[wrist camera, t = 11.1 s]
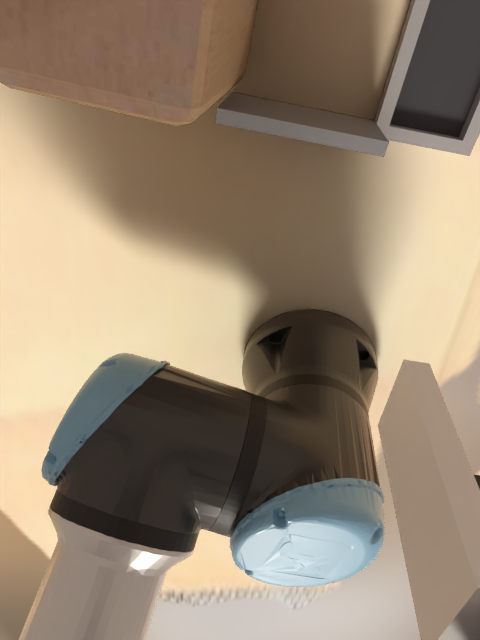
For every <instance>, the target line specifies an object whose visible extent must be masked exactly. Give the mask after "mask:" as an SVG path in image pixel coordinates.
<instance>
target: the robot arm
mask: <svg viewBox="0 0 480 640" xmlns="http://www.w3.org/2000/svg"><path fill="white" fill-rule="evenodd" d="M242 376H243V382H244V385H245V389H246V391H245V390H242V389H239V388H235V387H232V386H229V385H226V384H223V383H220V382H217V381H214V380H211V379H208V378H205V377H202V376H199V375H196V374H193V373H190V372H187V371H185V370H182V369H179V368H176V367H173V366H170V363H169V362H166V361H161V362H159V361H155V360H151V359H148V358H144V357H141V356H137V355H133V354H128V353H122V354H117V355H114V356H112V357H110V358H108V359H107V360H106V361H104V362H103V363H102V364H101V365H100V366H99V367H98V368H97V369H96V370H95V371H94V372H93V373H92V375H91V376H90V377H89V378H88V380H87V381H86V382H85V384H84V385H83V386H82V388H81V389H80V391H79V392H78V394H77V395H76V397H75V398H74V400H73V401H72V403H71V405H70V406H69V408H68V410H67V411H66V413H65V415H64V417H63V418H62V420H61V422H60V424H59V426H58V428H57V430H56V432H55V434H54V436H53V438H52V440H51V442H50V445H49V451H48V453H47V455H46V457H45V459H44V461H43V465H42V476H43V478H44V479H46V480H47V481H48V483H49V484H50V485H53V486H57V485H58V486H57V490H56V493H55V495H54V497H53V500H52V502H51V505H50V507H49V510H48V513H49V516H50V518H51V520H52V522H53V525H54V527H55V529H56V531H57V537H58V542H57V545H56V547H55V550H54V552H53V555H52V557H51V560H50V562H49V565H48V567H47V570H46V572H45V575H44V578H43V580H42V583H41V585H40V588H39V590H38V593H37V595H36V598H35V600H34V603H33V605H32V608H31V610H30V613H29V615H28V618H27V621H26V623H25V625H24V628H23V631H22V633H21V636H20V638H19V640H145V639H146V635H147V632H148V629H149V626H150V623H151V619H152V616H153V613H154V610H155V607H156V604H157V600H158V597H159V594H160V591H161V588H162V585H163V581H164V578H165V575H166V572H167V571H168V570H169V569H170V568H171V567H172V566H174V565H176V564H177V563H179V562H181V561H183V560H184V559H186V558H188V557H189V556H191V555H192V553H193V550H194V547H195V544H196V540H197V537H198V534H199V531H200V530H201V529H205V530H208V531H212V532H215V533H218V534H221V535H224V536H227V537H230V548H231V551H232V556H233V559H234V561H235V563H236V565H237V566H238V567H239V568H240V569H241V570H245V573H246V574H247V575H249V576H250V577H252V578H254V579H256V580H259V581H262V582H265V583H268V584H273V585H278V586H287V587H312V586H320V585H325V584H329V583H334V582H338V581H341V580H344V579H346V578H349V577H351V576H353V575H355V574H357V573H359V572H360V571H362V570H363V569H365V568H366V567H367V566H368V565H370V564H371V562H372V561H373V560H374V559H375V558H376V557H377V555H378V553H379V552H380V550H381V548H382V545H383V541H384V534H385V532H384V514H383V503H384V496H383V493H382V491H381V488H380V483H379V477H378V471H377V465H376V459H375V453H374V446H373V440H372V434H371V428H370V422H369V416H368V411H369V408H370V405H371V402H372V398H373V395H374V392H375V388H376V385H377V381H378V365H377V360H376V355H375V350H374V347H373V345H372V343H371V341H370V339H369V338H368V336H367V335H366V334H365V333H364V332H363V331H362V329H360V328H359V327H358V326H357V325H356V324H354V323H353V322H351V321H350V320H348V319H346V318H344V317H342V316H339V315H337V314H334V313H330V312H326V311H320V310H298V311H292V312H288V313H284V314H281V315H279V316H276V317H274V318H272V319H270V320H269V321H267V322H266V323H264V324H263V325H262V326H261V327H259V328H258V329H257V330H256V331H255V333H254V334H253V335H252V337H251V338H250V340H249V342H248V344H247V346H246V349H245V354H244V359H243V365H242ZM378 428H379V433H380V438H381V443H382V448H383V453H384V458H385V463H386V468H387V473H388V477H389V483H390V488H391V492H392V498H393V502H394V508H395V513H396V518H397V522H398V527H399V533H400V537H401V542H402V547H403V552H404V557H405V562H406V567H407V572H408V577H409V582H410V587H411V592H412V597H413V602H414V606H415V612H416V617H417V622H418V627H419V632H420V637H421V640H480V476H479V475H474V474H473V472H472V469H471V467H470V464H469V462H468V459H467V457H466V454H465V452H464V449H463V447H462V444H461V442H460V439H459V437H458V434H457V432H456V429H455V427H454V424H453V422H452V419H451V417H450V414H449V412H448V409H447V406H446V404H445V402H444V399H443V397H442V394H441V392H440V389H439V386H438V384H437V381H436V379H435V376H434V374H433V371H432V369H431V366H430V364H428V363H421V362H415V361H409V360H403V363H402V365H401V368H400V371H399V373H398V376H397V378H396V381H395V383H394V386H393V388H392V391H391V393H390V396H389V398H388V401H387V404H386V406H385V409H384V411H383V414H382V416H381V419H380V421H379V424H378Z"/></svg>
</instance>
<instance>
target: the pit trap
mask: <svg viewBox="0 0 480 640" xmlns="http://www.w3.org/2000/svg"><path fill="white" fill-rule="evenodd" d="M375 122H376V123H377V125H378V126H379V128H380V129H381V131H382V132H383V134H384V135H385V137H386V138H387V140H391V141H396V142H401V143H406V144H412V145H417V146H422V147H427V148H432V149H437V150H442V151H447V152H452V153H457V154H462V155H467V156H470V154H471V152H472V149H473V147H474V145H475V142H476V140H477V138H478V136H479V133H480V0H411V3H410V7H409V10H408V13H407V16H406V20H405V23H404V26H403V29H402V33H401V36H400V39H399V42H398V46H397V49H396V52H395V55H394V59H393V62H392V65H391V68H390V72H389V75H388V78H387V81H386V85H385V88H384V91H383V94H382V98H381V101H380V104H379V107H378V111H377V114H376V117H375Z"/></svg>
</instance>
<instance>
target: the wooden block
mask: <svg viewBox="0 0 480 640" xmlns="http://www.w3.org/2000/svg"><path fill="white" fill-rule="evenodd" d="M257 2H258V0H0V82H1V83H2V84H4V85H6V86H8V87H10V88H13V89H18V90H22V91H26V92H31V93H35V94H39V95H44V96H48V97H52V98H57V99H61V100H65V101H70V102H74V103H78V104H83V105H87V106H91V107H96V108H100V109H104V110H109V111H113V112H118V113H122V114H126V115H131V116H135V117H139V118H144V119H148V120H152V121H157V122H161V123H165V124H170V125H174V126H180V125H185V124H190V123H193V122H194V121H195V120H196V119H197V118H198V117H200V116H201V115H202V114H203V113H204V112H205V111H206V110H207V109H209V108H210V107H211V106H212V105H213V104H214V103H215V102H216V101H218V100H219V99H220V98H221V97H222V96H223V95H224V94H225V93H227V92H228V91H229V90H230V89H231V88H232V87H233V86H234V85H235V84H237V83H238V82H239V81H240V80H241V78H242V76H243V75H244V73H245V71H246V66H247V60H248V54H249V48H250V43H251V37H252V31H253V25H254V19H255V14H256V8H257Z"/></svg>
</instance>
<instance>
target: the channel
mask: <svg viewBox="0 0 480 640" xmlns="http://www.w3.org/2000/svg"><path fill="white" fill-rule="evenodd" d="M215 123H216V124H221V125H226V126H231V127H236V128H241V129H246V130H251V131H256V132H261V133H266V134H271V135H276V136H281V137H286V138H291V139H296V140H301V141H306V142H312V143H317V144H322V145H327V146H332V147H337V148H342V149H347V150H352V151H357V152H362V153H367V154H372V155H377V156H382V157H384V155H385V152H386V149H387V146H388V143H389V141H388V140H387V138H386V137H385V135H384V134H383V132H382V131H381V129H380V128H379V126H378V125H377V123H376V122H375V120H370V119H365V118H360V117H355V116H349V115H344V114H339V113H334V112H329V111H324V110H319V109H314V108H309V107H304V106H299V105H294V104H288V103H283V102H278V101H273V100H268V99H263V98H258V97H253V96H248V95H243V94H238V93H232V94H231V95H230V96H229V97H228V98H227V99H226V100H225V101H224V102H223V103H222V104H221V105H220V106H219V107H218V108H217V112H216V120H215Z"/></svg>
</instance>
